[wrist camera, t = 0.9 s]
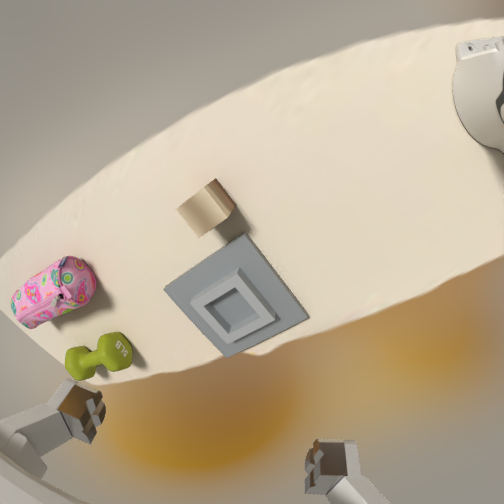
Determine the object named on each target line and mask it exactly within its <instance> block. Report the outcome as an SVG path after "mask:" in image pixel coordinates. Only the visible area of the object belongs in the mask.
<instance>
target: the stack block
mask: <svg viewBox="0 0 504 504" xmlns="http://www.w3.org/2000/svg"><path fill="white" fill-rule="evenodd" d="M235 206H236V204H235V203H234V201H233V200H232V199H231V197H230V196H229V195H228V193H227V192H226V191H225V190H224V188H223V187H222V186H221V184H220V183H219V182H218V180H217V179H214V180H213V181H212V182H210V183H209V184H208V185H206V186H205V187H204V188H202V189H201V190H200V191H198V192H197V193H196V194H195V195H193V196H192V197H191V198H189V199H188V200H187V201H186V202H184V203H183V204H182V205H181V206H179V207H178V208H177V211H178V212H179V213H180V215H181V216H182V217H183V218H184V220H185V221H186V222H187V223H188V225H189V226H190V227H191V228H192V230H193V231H194V232H195V234H196V235H197V236H198V237H199V238H200V237H201V236H203V235H204V234H205V233H207V232H208V231H210V230H211V229H212V228H214V227H215V226H217V225H218V224H219V223H221V222H222V221H224V220H225V219H226V218H228V216H229V215H230V213H231V212H232V210H233V209H234V207H235Z"/></svg>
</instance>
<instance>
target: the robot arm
mask: <svg viewBox="0 0 504 504" xmlns="http://www.w3.org/2000/svg"><path fill="white" fill-rule="evenodd" d="M468 47H469V48H470V50H471V51H470V50H469V48H468ZM456 56H457V66H456V70H455V73H454V78H453V97H454V102H455V106H456V109H457V112H458V115H459V117H460V119H461V121H462V123H463V125H464V126H465V128H466V129H467V131H468V132H469V133H470V134H471V136H472V137H473V138H475V139H476V140H477V141H478V142H480V143H481V144H483V145H485V146H488V147H492V148H496V149H499V150H501V151H502V152H503V153H504V36H501V37H493V38H485V39H478V40H472V41H466V42H460V43H458V44H457V45H456ZM102 397H103V396H102V393H101V392H100V391H98V390H95V389H93V388H90V387H88V386H86V385H83V384H81V383H79V382H76V381H74V380H72V379H69V378H67V379H65V380H64V381H63V383H62V384H61V385H60V387H59V388H58V389H57V391H56V392H55V394H54V395H53V396H52V398H51V399H50V400H49V402H48V403H47V404H44V403H43V404H41V405H38V406H36V407H33V408H31V409H28V410H26V411H23V412H21V413H18V414H15V415H13V416H10V417H7V418H5V419H2V420H1V421H0V504H89V503H87V502H85V501H82V500H80V499H78V498H76V497H74V496H72V495H70V494H68V493H66V492H64V491H62V490H60V489H59V488H57V487H55V486H53V485H51V484H49V483H48V482H46V481H44V480H43V479H42V478H43V476H44V474H45V472H46V470H47V466H46V464H45V463H44V462H43V460H42V459H41V458H40V457H41V456H43V455H45V454H46V453H48V452H49V451H51V450H53V449H55V448H57V447H58V446H60V445H61V444H63V443H65V442H67V441H68V440H70V439H72V437H74V438H77V439H79V440H81V441H83V442H86V443H88V444H91V443H92V441H93V439H94V437H95V435H96V433H97V431H96V427H97V426H99V425H101V424H102V422H103V420H104V417H105V413H106V407H105V404H104V403H103V402H102V400H101V399H102ZM305 471H306V472H307V473H308V476H307V477H306V479H305V494H320V495H321V494H322V495H326V497H327V498H328V500H329V501H330V503H331V504H390V503H389V502H388V501H387V499H386V498H385V497H384V496H383V495H381V493H380V492H379V491H378V490H377V489H376V488H375V486H374V485H373V484H372V483H371V482H370V481H369V480H368V479H367V478H366V476H362V475H361V468H360V461H359V454H358V447H357V443H356V441H354V440H331V439H316V440H315V441H314V443H313V448H311V449H310V450H309V451H308V453H307V456H306V460H305Z"/></svg>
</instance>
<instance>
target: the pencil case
mask: <svg viewBox="0 0 504 504" xmlns="http://www.w3.org/2000/svg"><path fill="white" fill-rule="evenodd" d="M95 290H96V278H95V276H94V274H93V272H92V271H91V269H90V268H89V267H88V266H87V265H86V264H85V263H84V262H83V261H82V260H80V259H78V258H76V257H73V256H66V257H63V258H62V259H60V260H58V261H56V262H55V263H54V264H52V265H51V266H49V267H48V268H46V269H45V270H43V271H42V272H40V273H39V274H37V275H35V276H34V277H32V278H30V279H29V280H28V281H27V282H25V284H24V285H23V286H22V287H21V288H20V289H19V290H17V291H16V292H15V293H14V295H13V296H12V299H11V308H12V311H13V313H14V315H15V317H16V318H17V320H18V321H19V322H20V323H22V324H23V325H24V326H25V327H27V328H29V329H34V328H36V327H37V326H38V325H40V324H42V323H44V322H46V321H49V320H51V319H53V318H55V317H58V316H60V315H63V314H66V313H68V312H70V311H72V310H74V309H77V308H79V307H82V306H84V305H86V304H87V303H88V302H89V300H90V299H91V298H92V296H93V294H94V292H95Z"/></svg>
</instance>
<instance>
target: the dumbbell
mask: <svg viewBox="0 0 504 504" xmlns="http://www.w3.org/2000/svg"><path fill="white" fill-rule="evenodd" d="M131 363H132V347H131V345H130V344H129V342H128V341H127V340H126V339H125V337H124V336H123V335H122V334H121V333H119V332H113V333H108V334H105V335H102V336H101V337H100V338H99V340H98V346H97V350H95V351H92V352H90V351H89V350H88V349H87V348H86V347H84V346H79V347H74V348H71V349H68V350H67V352H66V357H65V368H66V369H67V371H68V372H69V373H70V374H71V376H72V377H73V378H74V379H75V380H77V381H81V380H85V379H89V378H91V377H93V376H94V375H95V371H96V366H99V365H102V364H103V365H104V366H105V367H106V368H107V369H108V370H109V371H112V372H115V371H120V370H123V369H126V368H128V367H130V366H131Z"/></svg>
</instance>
